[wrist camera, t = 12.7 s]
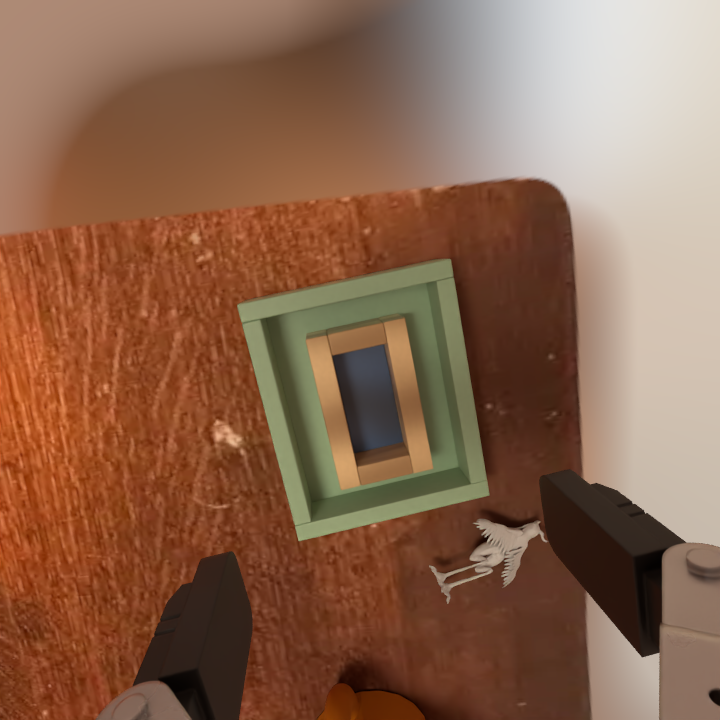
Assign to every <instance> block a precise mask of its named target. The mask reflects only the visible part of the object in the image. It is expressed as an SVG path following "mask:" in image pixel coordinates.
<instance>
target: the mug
mask: <svg viewBox="0 0 720 720" xmlns="http://www.w3.org/2000/svg"><path fill="white" fill-rule="evenodd" d="M317 720H425V717H424V715H423V714H422V713H421V711H420V710H419V709H418V708H417V707H416V706H415V704H414V703H412V702H410V701H409V700H407V699H405V698H403V697H402V696H400V695H398V694H393V693H389V692H384V691H362V692H358V693H354V691H353V690H352V688H351V687H350V686H349V685H347V684H345V683H337V684H336V685H334V686H333V687H332V689H331V690H330V692H329V694H328V696H327V700H326V704H325V710H324V711H323V713H322V714H321V715H320V716H319V717H318V719H317Z"/></svg>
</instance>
